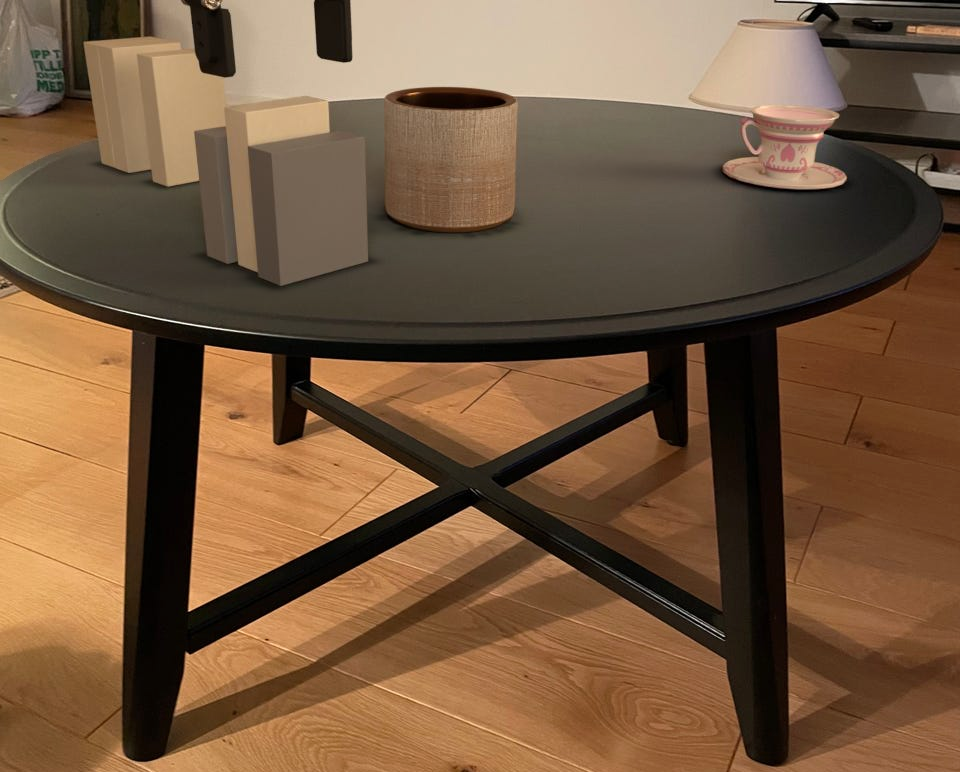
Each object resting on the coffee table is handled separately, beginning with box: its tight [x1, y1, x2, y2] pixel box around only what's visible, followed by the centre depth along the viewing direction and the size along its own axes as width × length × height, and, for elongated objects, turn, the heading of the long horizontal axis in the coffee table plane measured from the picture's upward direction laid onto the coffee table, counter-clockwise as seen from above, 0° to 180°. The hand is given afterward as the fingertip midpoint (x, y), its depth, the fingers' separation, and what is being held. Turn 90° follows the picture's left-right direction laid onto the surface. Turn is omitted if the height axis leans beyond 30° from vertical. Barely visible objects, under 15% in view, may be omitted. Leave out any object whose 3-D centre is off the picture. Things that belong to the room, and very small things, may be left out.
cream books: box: [83, 36, 227, 188], centre depth 95 cm, size 7×12×11 cm, turn 47°
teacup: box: [722, 104, 848, 190], centre depth 101 cm, size 12×12×6 cm
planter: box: [383, 86, 519, 233], centre depth 84 cm, size 11×11×10 cm
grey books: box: [194, 126, 369, 287], centre depth 74 cm, size 8×9×9 cm
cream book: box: [224, 95, 331, 274], centre depth 73 cm, size 7×2×11 cm, turn 137°
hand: (278, 67), depth 69 cm, fingers open, 9 cm apart
